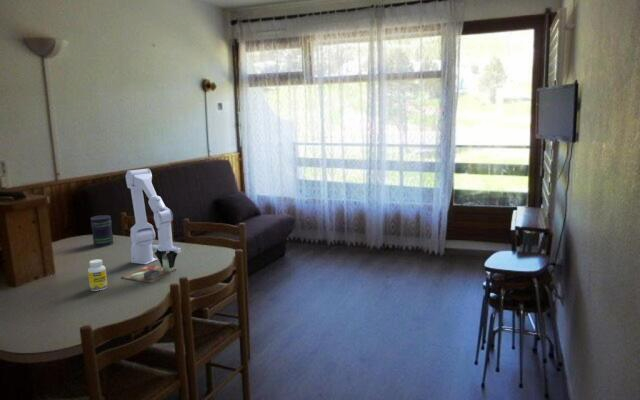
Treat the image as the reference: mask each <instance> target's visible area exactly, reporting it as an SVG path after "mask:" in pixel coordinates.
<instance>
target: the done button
mask: <svg viewBox="0 0 640 400" xmlns="http://www.w3.org/2000/svg"><path fill="white" fill-rule="evenodd" d="M149 265H150V264H149ZM146 266H147V265H146ZM155 266H156V265H154V264H152V265H150V266H147V269H148V270H149V271H152V270H154V269H155Z"/></svg>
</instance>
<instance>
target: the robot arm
mask: <svg viewBox="0 0 640 400" xmlns="http://www.w3.org/2000/svg"><path fill="white" fill-rule="evenodd" d="M152 180H153V174H152V171H151V169H150V168H141V169H140V168H139V169H134V170H133V169H132V170H130V169H128V170H127V171H126V174H125V182H126V186H127V189H129V190H130V194H131V200H132V207H133V213H134V221H135V223H134V225H133V226H131V227H130V237H129V238H130V241H131V243H132V244H131V246H130V254H131V255H130V257H131V258H130V259H131V261H130V263H132V264H133V263H134V264H140V265H149V264H150V263H152V262H155V261H157V260H158V262H159V264H160V267H163V262H162V255H164V254H166V255H167V258H168V261H169V267H170V268H175V263H176V262H175V261H176V258H177V257H178V255H179V254H180V253H181V252H182V248H181V247H178V246H175V245H173V244H174V243H173V233H172V222H173V220H174V215H173V212H172V210H171V209H170V208H168V207H167V206H166V205H165V203H164V201H163V199H162V197H161V196H159V195H157V192H156V190H155V188H154V185H153V183H152ZM143 191H144V193H145V195H146V197H147V198H148V205H149V207H150V209H151V211H152V212H153V221H154V224H155V227H156V229H157V238H158V241H157V242H158V244H153V242H154V241H155V239H156V232H155V229H154V225H152V224H151V223H149V222H148V218H147V212H146V205H145V199H144V193H143ZM154 251H155V252H154ZM154 255H155V257H154Z"/></svg>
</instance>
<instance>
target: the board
mask: <svg viewBox="0 0 640 400" xmlns="http://www.w3.org/2000/svg"><path fill="white" fill-rule="evenodd" d="M147 266H150V264H146V265H144V266H143V267H141V268H138V269H136V270H134V271H131V272H129V273H127V274H124V275H122V276H121V277H120V278H121V279H125V280H130V281H131V280H132V281H136V282H137V281H138V282H144V283H154V282H155V281H158V280H160V279H162V278H164V277H165V276H167V275H169V274H171V273H174V272H176V271H177V268H175V267H173V271H171V272H164V271H163V267H161V266H158V265H154V266H155V269H154V270H152V271H149V270H148V269H147Z"/></svg>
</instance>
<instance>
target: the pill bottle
mask: <svg viewBox="0 0 640 400" xmlns="http://www.w3.org/2000/svg"><path fill="white" fill-rule="evenodd" d="M89 266H90V267H88V268H87V275H88V284H89V285H88V286H89V289H90V291H92V292H99V290H100V291H103V290H105V289H107V287H108V280H107V279H108V278H107V269H106V266H105V265H103V259H98V258H97V259H91V260H89Z"/></svg>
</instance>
